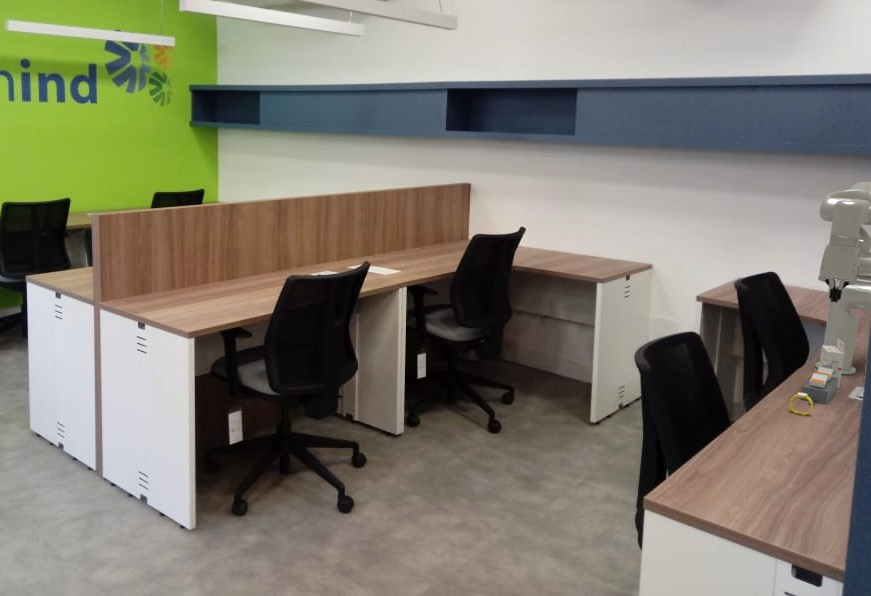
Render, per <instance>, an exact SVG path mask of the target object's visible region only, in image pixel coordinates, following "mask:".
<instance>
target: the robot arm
mask: <svg viewBox="0 0 871 596" xmlns="http://www.w3.org/2000/svg"><path fill="white" fill-rule="evenodd" d="M819 216H820V218H821V220H822V221H824V222H828V223H829V222H831V226H830V227H831V229H830V234H829V242H828V244H826V246H825V248H824V252H823V254H822V259H821V262H820V266H819V267H820V268H819V275H818V277H817V279H818V281H820V282H823V283H825V284H826V285H827V286H828V295H827V296H828V299H827V300H828V304H827V305H828V306H827V307H828V308H827V317H826V318H827V319H826V326H825V331H824V338H823V344H822V345H824V346H836V347H837V339H838V338H839V339H840V340H841V341H842V342H843V343H844V344H845V348H844V359H843V366H842V373H841V375H855V373H856V372H857V368H855V367H854V366H852V365H853V359H854V358H853V357H854V352H855V344H856V338H857V332H858V328H859V327H858V326H859V321H858V320H859V319H858V317H857V315H856V314H855V312H854V311H853V310H862V311H868V312H871V236H870V234H869V233H868V231H867V230H866V229H865V228H864V227H863V226H871V181H859V182H857V183H854V184H853V185H852V186H850V188H849V189H846V190H841V191H840V190H839V191H833V192H830V193H828V194H826V196H825V197H824V198H823V200H822V201H821V204H820V207H819ZM862 225H863V226H862ZM861 280H862V281H861ZM840 346H841V347H842V345H841V344H840ZM819 364H820V361H817V362H815V364H814V366H815V368H816V369H817V370H818V369H819Z"/></svg>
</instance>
